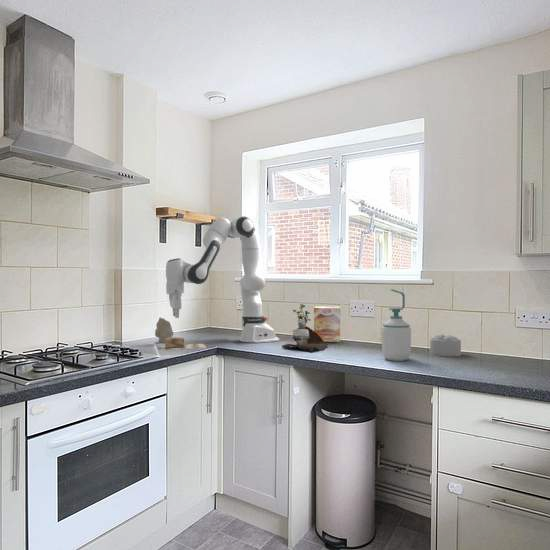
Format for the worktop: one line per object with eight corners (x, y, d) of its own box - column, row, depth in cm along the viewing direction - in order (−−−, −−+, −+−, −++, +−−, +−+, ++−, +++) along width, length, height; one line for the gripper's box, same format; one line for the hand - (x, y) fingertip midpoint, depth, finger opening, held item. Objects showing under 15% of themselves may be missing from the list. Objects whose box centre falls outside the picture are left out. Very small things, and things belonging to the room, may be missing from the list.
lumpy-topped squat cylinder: (463, 356, 194) (463, 337, 194) (435, 356, 194) (434, 337, 194) (453, 352, 205) (453, 334, 205) (426, 352, 204) (426, 334, 204)
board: (202, 345, 228) (202, 343, 228) (206, 349, 216) (206, 347, 216) (160, 348, 221) (160, 345, 221) (162, 352, 209) (162, 350, 209)
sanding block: (183, 345, 221) (183, 337, 221) (184, 347, 216) (184, 338, 216) (165, 346, 218) (165, 338, 218) (166, 348, 213) (166, 339, 213)
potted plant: (280, 354, 216) (280, 306, 224) (300, 357, 230) (300, 312, 238) (313, 351, 205) (312, 300, 212) (332, 355, 219) (331, 307, 227)
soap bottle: (383, 355, 196) (383, 288, 196) (411, 357, 192) (411, 288, 192) (380, 360, 185) (379, 289, 185) (410, 362, 180) (409, 289, 180)
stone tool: (175, 344, 235) (174, 317, 235) (172, 345, 231) (171, 317, 231) (156, 343, 237) (156, 316, 237) (153, 344, 234) (153, 317, 234)
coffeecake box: (313, 341, 240) (313, 307, 240) (314, 339, 247) (314, 306, 247) (340, 342, 238) (340, 307, 238) (340, 340, 245) (340, 306, 245)
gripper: (184, 290, 208) (184, 318, 208) (179, 289, 228) (180, 315, 228) (170, 291, 206) (171, 319, 206) (167, 289, 225) (168, 315, 226)
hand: (176, 317), depth 217 cm, fingers open, 8 cm apart
